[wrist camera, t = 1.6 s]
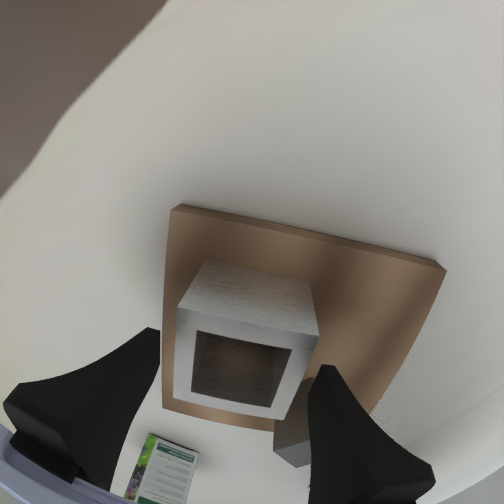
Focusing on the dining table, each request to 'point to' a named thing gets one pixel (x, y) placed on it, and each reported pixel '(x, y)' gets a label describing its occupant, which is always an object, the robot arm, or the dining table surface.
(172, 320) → the board
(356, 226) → the dining table surface
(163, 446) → the syrup box
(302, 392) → the dark grey block
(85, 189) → the dining table surface
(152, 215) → the dining table surface
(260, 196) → the dining table surface
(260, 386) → the cube with square recess
